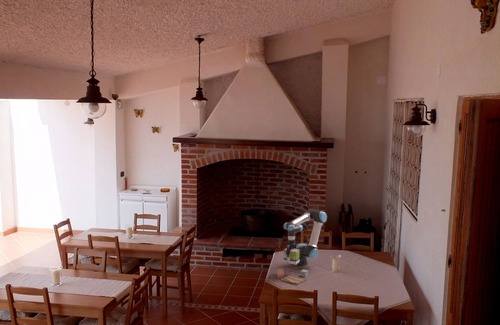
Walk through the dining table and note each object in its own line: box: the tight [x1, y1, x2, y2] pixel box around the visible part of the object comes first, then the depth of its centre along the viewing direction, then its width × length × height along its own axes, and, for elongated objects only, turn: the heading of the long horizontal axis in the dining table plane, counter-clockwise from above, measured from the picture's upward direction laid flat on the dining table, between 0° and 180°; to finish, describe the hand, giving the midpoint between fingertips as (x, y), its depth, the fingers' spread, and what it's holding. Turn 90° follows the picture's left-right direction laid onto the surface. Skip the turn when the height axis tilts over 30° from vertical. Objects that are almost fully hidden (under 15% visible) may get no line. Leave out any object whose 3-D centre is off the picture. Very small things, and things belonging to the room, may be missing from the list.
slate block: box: [300, 269, 309, 278], centre depth 481 cm, size 6×6×6 cm
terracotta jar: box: [276, 268, 285, 280], centre depth 477 cm, size 7×7×8 cm
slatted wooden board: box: [280, 274, 307, 286], centre depth 468 cm, size 16×20×2 cm
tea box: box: [283, 247, 299, 266], centre depth 486 cm, size 15×10×15 cm
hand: (291, 258), depth 486 cm, fingers closed on tea box, 11 cm apart
